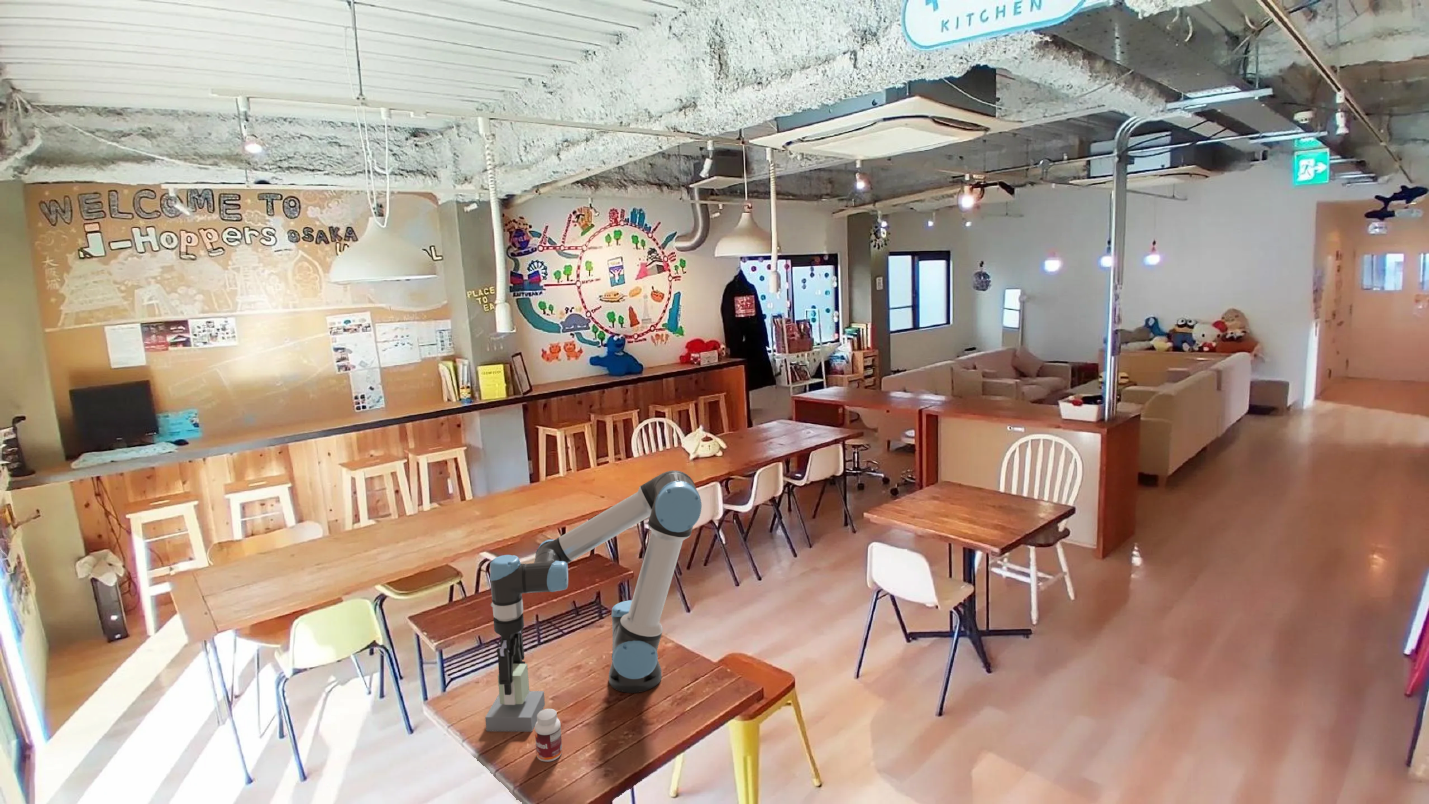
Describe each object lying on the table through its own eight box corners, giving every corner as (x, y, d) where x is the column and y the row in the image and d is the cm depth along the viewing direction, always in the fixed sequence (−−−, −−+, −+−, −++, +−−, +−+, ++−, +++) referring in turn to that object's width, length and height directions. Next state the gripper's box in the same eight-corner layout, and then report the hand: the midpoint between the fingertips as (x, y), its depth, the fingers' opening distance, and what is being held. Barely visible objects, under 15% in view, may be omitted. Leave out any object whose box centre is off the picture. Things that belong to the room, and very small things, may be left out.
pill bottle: (531, 755, 181) (528, 715, 179) (551, 743, 185) (549, 703, 183) (547, 766, 177) (544, 724, 175) (567, 753, 181) (564, 712, 179)
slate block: (544, 704, 202) (543, 691, 201) (532, 731, 190) (531, 717, 189) (501, 704, 203) (500, 690, 202) (486, 731, 191) (485, 717, 190)
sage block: (529, 691, 198) (527, 663, 197) (522, 704, 192) (520, 675, 191) (507, 690, 198) (505, 663, 197) (499, 703, 192) (497, 675, 191)
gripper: (505, 598, 201) (511, 676, 205) (480, 632, 182) (487, 717, 186) (533, 598, 200) (538, 676, 204) (510, 632, 182) (517, 718, 186)
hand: (514, 696), depth 195 cm, fingers closed on sage block, 6 cm apart
